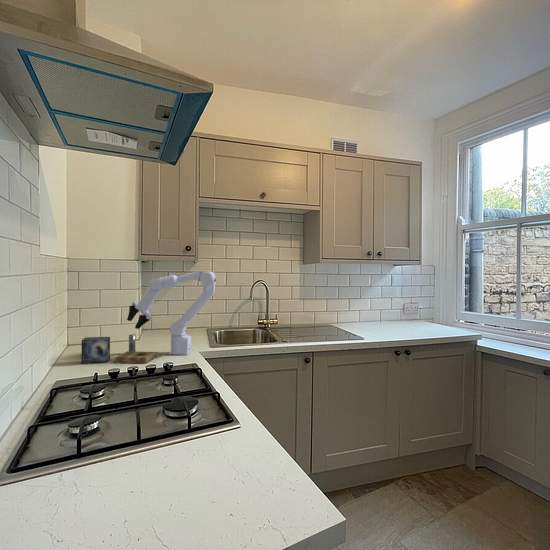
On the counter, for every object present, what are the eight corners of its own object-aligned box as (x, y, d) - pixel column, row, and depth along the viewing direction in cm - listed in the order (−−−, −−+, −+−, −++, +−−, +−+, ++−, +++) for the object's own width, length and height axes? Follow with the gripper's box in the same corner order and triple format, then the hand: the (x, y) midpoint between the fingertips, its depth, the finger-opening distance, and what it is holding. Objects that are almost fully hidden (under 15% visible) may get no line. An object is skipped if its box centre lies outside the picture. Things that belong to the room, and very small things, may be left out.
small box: (80, 364, 148) (80, 340, 148) (84, 360, 155) (84, 337, 154) (107, 363, 151) (107, 339, 151) (110, 359, 157) (110, 336, 157)
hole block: (156, 357, 162) (156, 352, 162) (146, 363, 151) (146, 357, 151) (127, 356, 163) (127, 351, 163) (115, 362, 152) (115, 356, 152)
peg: (136, 352, 171) (136, 334, 171) (133, 354, 168) (133, 335, 168) (130, 352, 171) (130, 334, 171) (127, 354, 168) (127, 335, 168)
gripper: (133, 291, 171) (118, 315, 171) (148, 306, 163) (133, 330, 163) (144, 295, 177) (130, 318, 177) (159, 309, 169) (145, 333, 169)
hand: (132, 324), depth 170 cm, fingers open, 7 cm apart
